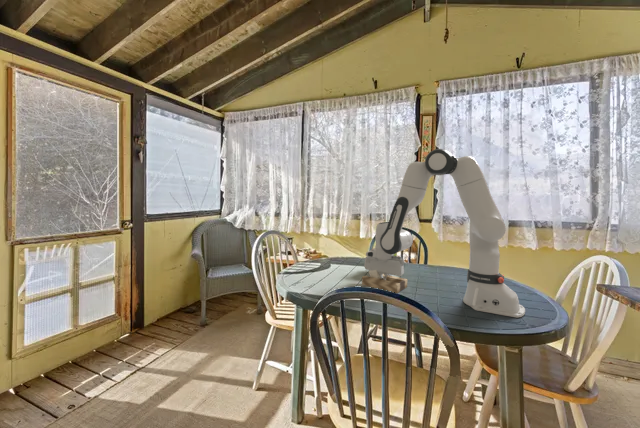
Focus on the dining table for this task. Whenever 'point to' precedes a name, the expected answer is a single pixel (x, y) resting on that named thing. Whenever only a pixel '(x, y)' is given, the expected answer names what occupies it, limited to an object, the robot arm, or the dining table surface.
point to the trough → (386, 283)
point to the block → (374, 274)
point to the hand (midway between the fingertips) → (383, 281)
